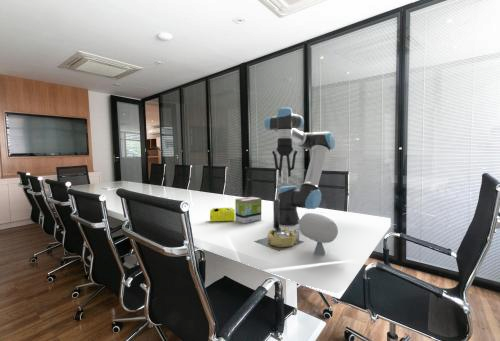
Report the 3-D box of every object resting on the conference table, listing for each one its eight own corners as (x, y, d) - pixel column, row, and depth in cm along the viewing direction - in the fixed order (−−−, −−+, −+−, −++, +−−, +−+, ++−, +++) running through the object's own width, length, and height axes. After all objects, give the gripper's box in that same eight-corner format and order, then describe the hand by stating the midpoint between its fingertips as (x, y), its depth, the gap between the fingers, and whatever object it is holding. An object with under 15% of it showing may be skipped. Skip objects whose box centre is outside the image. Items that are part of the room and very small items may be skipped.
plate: (253, 243, 125) (253, 231, 125) (279, 235, 137) (279, 224, 136) (278, 253, 112) (278, 240, 112) (304, 243, 124) (304, 231, 123)
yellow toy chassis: (234, 219, 172) (234, 207, 171) (234, 221, 166) (234, 209, 166) (210, 220, 171) (210, 208, 170) (210, 222, 165) (209, 209, 164)
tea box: (244, 224, 160) (244, 200, 159) (235, 221, 168) (234, 198, 167) (262, 219, 170) (261, 197, 169) (252, 217, 178) (251, 196, 177)
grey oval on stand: (327, 244, 122) (327, 208, 120) (341, 262, 102) (341, 219, 101) (295, 245, 122) (295, 209, 121) (303, 262, 102) (303, 220, 101)
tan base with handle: (299, 245, 118) (299, 204, 117) (273, 247, 115) (273, 206, 114) (286, 234, 134) (286, 198, 132) (263, 236, 131) (263, 199, 130)
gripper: (269, 138, 131) (269, 183, 132) (299, 137, 127) (299, 184, 129) (271, 138, 138) (271, 182, 139) (299, 138, 134) (299, 182, 136)
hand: (284, 182), depth 134 cm, fingers open, 2 cm apart
